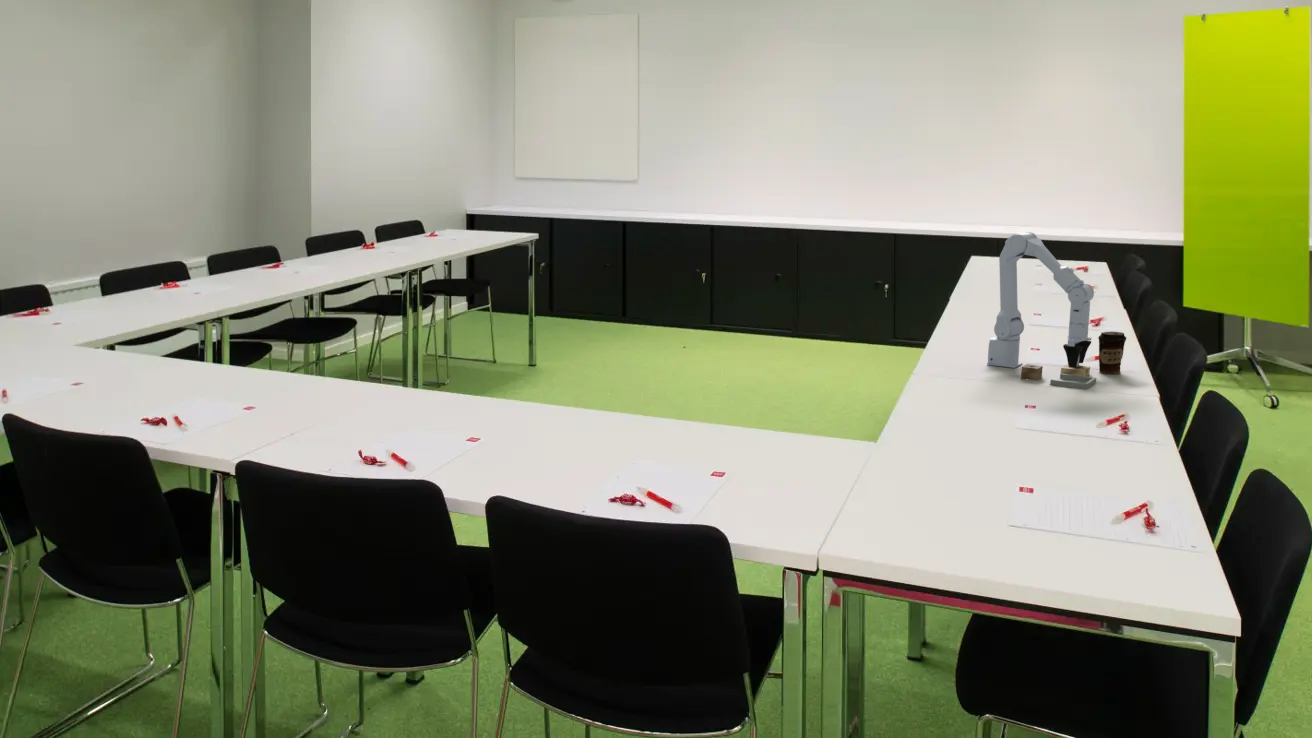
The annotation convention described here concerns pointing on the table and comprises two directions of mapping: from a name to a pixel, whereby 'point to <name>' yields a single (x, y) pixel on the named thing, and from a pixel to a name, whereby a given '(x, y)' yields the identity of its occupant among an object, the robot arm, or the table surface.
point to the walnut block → (1031, 372)
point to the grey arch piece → (1088, 380)
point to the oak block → (1076, 370)
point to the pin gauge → (1078, 362)
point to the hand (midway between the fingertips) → (1075, 365)
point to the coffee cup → (1111, 351)
